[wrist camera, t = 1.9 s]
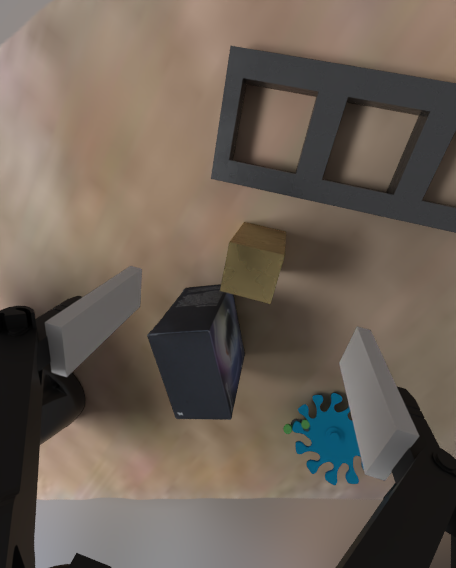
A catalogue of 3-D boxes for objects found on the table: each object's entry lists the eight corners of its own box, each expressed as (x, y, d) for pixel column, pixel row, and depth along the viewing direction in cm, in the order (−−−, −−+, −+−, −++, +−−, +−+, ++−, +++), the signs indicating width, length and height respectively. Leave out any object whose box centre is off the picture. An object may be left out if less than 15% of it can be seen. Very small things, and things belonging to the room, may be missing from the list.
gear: (382, 402, 33) (380, 501, 30) (372, 401, 38) (369, 485, 35) (288, 383, 36) (277, 469, 33) (291, 385, 42) (282, 459, 38)
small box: (248, 355, 36) (234, 423, 27) (202, 356, 38) (173, 421, 28) (234, 281, 32) (211, 331, 23) (183, 287, 34) (142, 335, 24)
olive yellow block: (235, 260, 31) (219, 290, 24) (244, 222, 29) (229, 241, 22) (274, 270, 31) (270, 304, 23) (285, 231, 29) (284, 255, 21)
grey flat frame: (216, 177, 28) (210, 178, 26) (235, 54, 23) (230, 45, 22) (487, 237, 25) (503, 243, 23) (566, 110, 21) (592, 106, 19)
